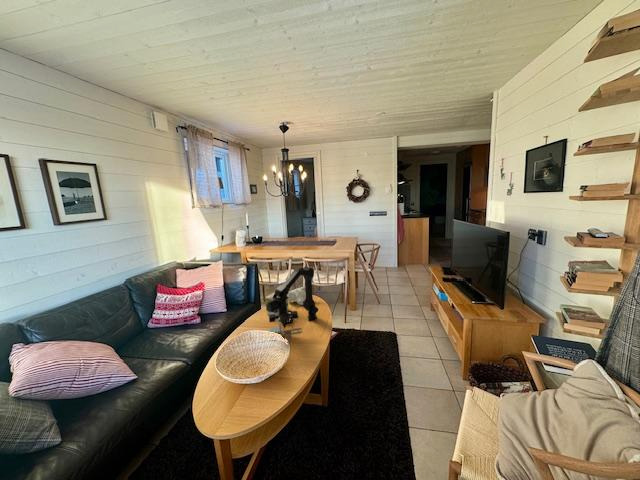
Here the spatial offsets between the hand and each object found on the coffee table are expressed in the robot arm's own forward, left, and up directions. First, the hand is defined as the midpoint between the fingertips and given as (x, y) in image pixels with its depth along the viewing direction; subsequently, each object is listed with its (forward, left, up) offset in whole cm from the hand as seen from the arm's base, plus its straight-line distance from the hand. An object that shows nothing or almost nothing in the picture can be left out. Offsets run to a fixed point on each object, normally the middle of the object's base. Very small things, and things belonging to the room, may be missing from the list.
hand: (284, 327), depth 172 cm
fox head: (-43, +15, -4) cm, 46 cm away
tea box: (-32, -4, -4) cm, 32 cm away
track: (0, +1, -4) cm, 4 cm away
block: (+8, +2, -4) cm, 9 cm away
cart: (0, -6, -4) cm, 7 cm away
